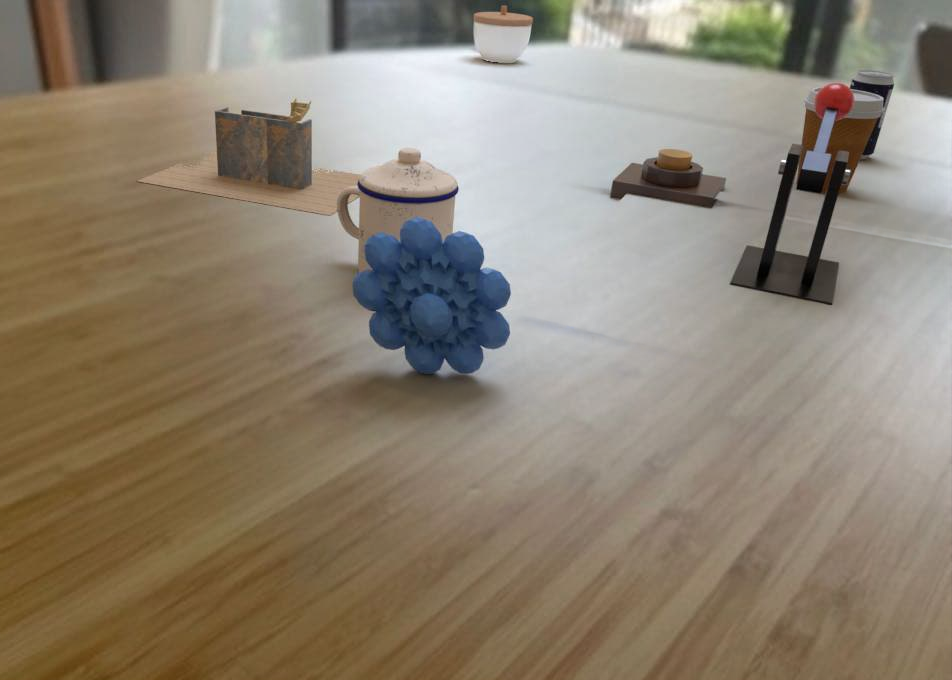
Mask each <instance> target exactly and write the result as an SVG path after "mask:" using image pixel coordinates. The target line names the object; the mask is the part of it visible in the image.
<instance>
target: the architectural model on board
mask: <svg viewBox="0 0 952 680" xmlns="http://www.w3.org/2000/svg"><path fill="white" fill-rule="evenodd" d="M311 104H312V100H310V101H309V102H300V101H298V99H297V98H294V100H293V101H292V102H290V113H289V115H282V114H275V113H269V112H262V111H255V110H248V109H241V110H240V113H234V112H229V111H230V110H229V108H230V107H228V106H227V107H222V108H220V109H217V110H214V122H215V125H214V126H215V140H216V142H215V143H216V150H209V151H210V152H211V151H213V152H214V153H213V152H211V153H210V152H209V151H208V152H209V153H210V154H213V156H212V155H211V157H210V156H208V157H209V159H207V158H208V157H206V156H205V157H203V158H205V159H203V162H202V161H200V162H202V163H200V166H199V165H197V166H196V167H197V168H196V167H194V166H195V165H194V166H192V165H190V166H192V167H194V168H192V167H190V166H189V167H190V168H189V167H187V166H184V167H183V166H181V165H183V164H180V163H177V164H175V165H173V166H174V167H173V166H170V167H168V168H169V169H167V168H165V169H163V170H159V171H158V172H156V173H155V172H154V173H153V174H150V175H148V176H145V177H143V178H141V179H138V180H137V182H139V183H144V184H150V185H156V186H161V187H162V186H163V187H168V188H173V189H179V190H184V191H189V192H196V193H202V194H206V195H212V196H219V197H224V198H230V199H236V200H239V201H240V200H241V201H247V202H252V203H258V204H264V205H268V206H274V207H280V208H285V209H291V210H297V211H304V212H307V213H314V214H320V215H326V216H332V215H333V214H334V213H336V212H337V200H338V196H339V194H340V193H341V192H342V191H343V190H344V189H346V188H348V187H351V186H358V185H357V183H358V180H359V177H360V176H361V174H358V173H354V172H353V173H352V172H347V173H346V171H339V170H334V169H328V170H330V171H329V173H326V172H328V170H325V169H326V168H321V167H317V168H318V169H320V170H317V169H314V170H317V172H316V171H314V170H312V167H313V164H312V162H313V160H312V159H313V157H312V156H313V152H312V151H313V149H312V148H313V144H312V143H313V137H312V136H313V135H312V134H313V125H312V124H313V122H312V121H313V120H312V119H311V118H310V119H306V120H304V121H302V120H303V119H304V118H305V116H306V115H307V113H308V112H309V111H310V109H311ZM301 121H302V122H301ZM206 153H207V152H206ZM207 154H208V153H207ZM214 154H215V155H214ZM211 158H212V159H211ZM204 160H206V161H204ZM207 160H209V161H210V162H209V161H207ZM179 164H180V165H179ZM187 164H188V163H187ZM197 164H199V163H197ZM201 164H202V165H201ZM178 165H179V166H178ZM176 166H178V167H176ZM185 167H186V168H185ZM187 168H188V169H187ZM322 170H324V171H322ZM331 170H333V172H331ZM338 171H339V172H338ZM318 172H319V173H318ZM314 173H315V174H314ZM357 198H360V196H358V195H353V194H351V195H350V196H349V198H348V204H350V203H351V202H353V201H355V200H356V199H357Z"/></svg>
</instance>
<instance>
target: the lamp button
mask: <svg viewBox="0 0 952 680" xmlns="http://www.w3.org/2000/svg"><path fill="white" fill-rule="evenodd" d="M657 157H658V158H657V164H656V165H657V166H660V167H663V168H667V169H673V170H688V169H690V165H691V162H692V160H693V154H692V153H691V152H688V151H686V150H682V149H676V148H663V149H659V150H658V154H657Z"/></svg>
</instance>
